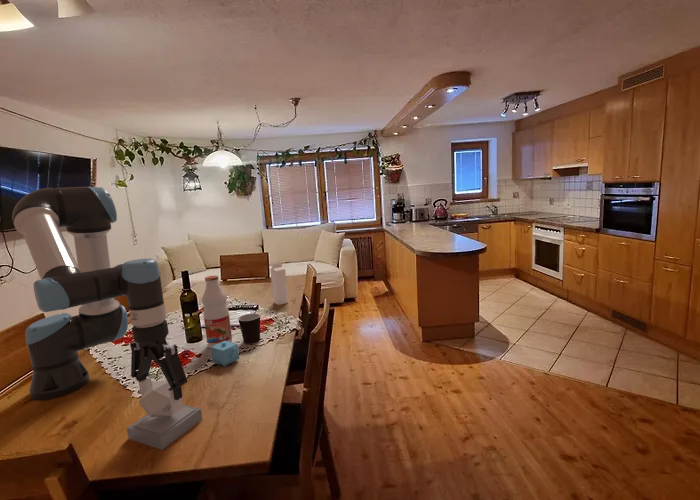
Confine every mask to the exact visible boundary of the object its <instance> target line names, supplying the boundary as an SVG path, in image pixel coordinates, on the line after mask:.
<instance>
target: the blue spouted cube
mask: <svg viewBox="0 0 700 500" xmlns="http://www.w3.org/2000/svg"><path fill="white" fill-rule="evenodd" d="M238 344H239V343H235V342H233V341H232V342H229V341H223V342H221V343H218V344H216V345H214V346H212V347H211V348H210V353H211V354H210V355H211V362H213V363H216V365H222V367H224V368H225V367H227V366H228V365H230V364H232V363H235V362H236V361H238V360H239V359H240V352H239V351H240V350H239V345H238Z"/></svg>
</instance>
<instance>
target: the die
mask: <svg viewBox="0 0 700 500" xmlns="http://www.w3.org/2000/svg"><path fill="white" fill-rule="evenodd" d="M169 388H170V385H169V383H168V381H167V379H166V380H154V381H152V380H151V384H150V385H149V387H148V388H147V390H146V391H145V393H144V394H143V396H141V397H140V399H139V401H138V403H139V405H140V406H141V407H142V408H143V409H144V411H145V412H146V415H147V414H148V415H149V416H150V417H162V416H172V410H171V403H170V397H169V391H168V389H169ZM182 395H183V396H182V398H183V397H184V393H182Z"/></svg>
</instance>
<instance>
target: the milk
mask: <svg viewBox="0 0 700 500" xmlns="http://www.w3.org/2000/svg"><path fill="white" fill-rule="evenodd" d="M269 271H270V272H269V273H270V279H271V282H270V283H271V290H272V298H273V304H275V305H277V306H281V305H284V304H288V303H289V296H288V295H289V294H288V287H287V285H288V284H287V275H286V269H285V267H284V266H283V262H278V263H273V264H271V268H270V270H269Z"/></svg>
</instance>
